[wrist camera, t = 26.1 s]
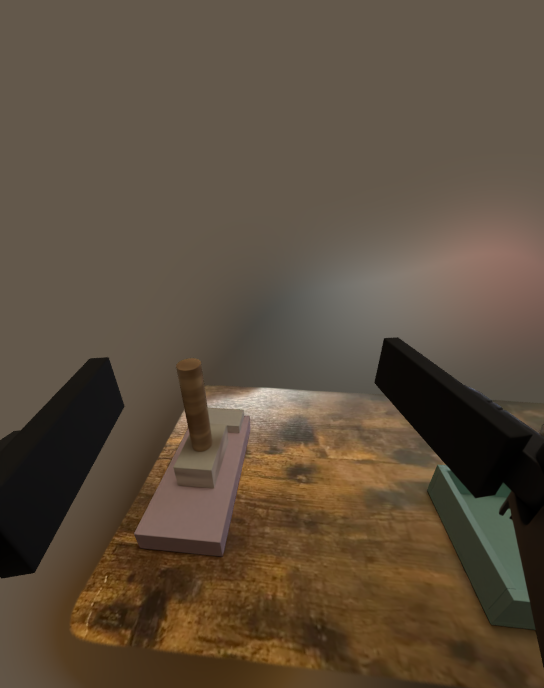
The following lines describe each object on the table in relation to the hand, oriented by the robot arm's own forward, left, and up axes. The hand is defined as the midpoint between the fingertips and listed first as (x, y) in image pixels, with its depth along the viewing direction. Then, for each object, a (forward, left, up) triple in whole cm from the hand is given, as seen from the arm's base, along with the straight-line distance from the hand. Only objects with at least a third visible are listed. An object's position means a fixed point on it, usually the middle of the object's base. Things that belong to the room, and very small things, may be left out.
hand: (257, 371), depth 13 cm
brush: (+7, +16, -25) cm, 31 cm away
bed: (+7, +16, -28) cm, 33 cm away
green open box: (+21, -19, -28) cm, 40 cm away
